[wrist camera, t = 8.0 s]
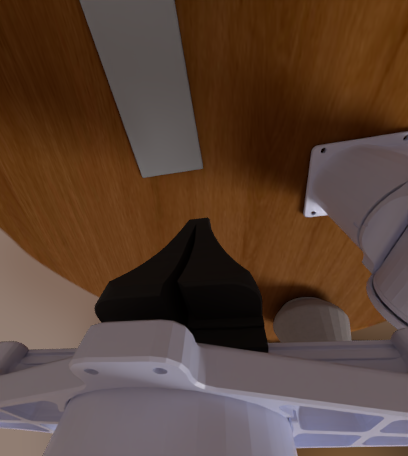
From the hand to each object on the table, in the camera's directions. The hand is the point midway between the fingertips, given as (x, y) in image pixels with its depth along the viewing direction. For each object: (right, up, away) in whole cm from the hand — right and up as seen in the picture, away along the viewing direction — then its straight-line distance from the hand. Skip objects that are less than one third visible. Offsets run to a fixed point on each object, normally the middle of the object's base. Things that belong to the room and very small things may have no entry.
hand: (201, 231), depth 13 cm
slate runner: (-5, +14, +3) cm, 16 cm away
